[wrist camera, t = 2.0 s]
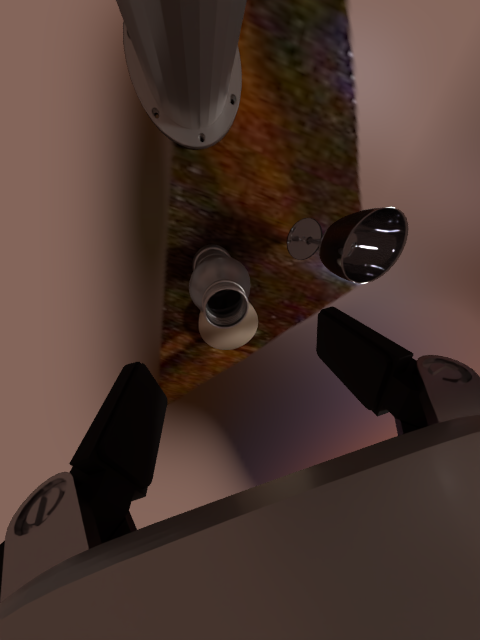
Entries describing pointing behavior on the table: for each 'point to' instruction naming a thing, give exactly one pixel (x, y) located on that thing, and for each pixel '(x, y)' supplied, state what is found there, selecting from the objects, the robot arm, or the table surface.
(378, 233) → the wine glass
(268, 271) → the table surface
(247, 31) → the table surface
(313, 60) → the table surface
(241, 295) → the plastic bottle
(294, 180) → the table surface
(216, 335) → the pedestal
